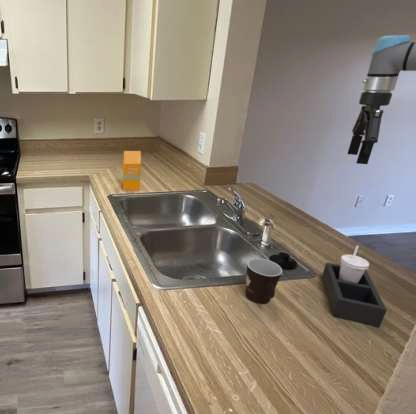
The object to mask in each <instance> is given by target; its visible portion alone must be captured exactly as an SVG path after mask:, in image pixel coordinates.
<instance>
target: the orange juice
mask: <svg viewBox="0 0 416 414" xmlns="http://www.w3.org/2000/svg"><path fill="white" fill-rule="evenodd" d="M122 160H123V161H122V191H140V190H141V171H142V151H141V150H123V159H122Z"/></svg>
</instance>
